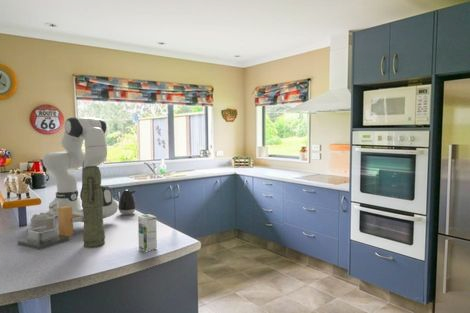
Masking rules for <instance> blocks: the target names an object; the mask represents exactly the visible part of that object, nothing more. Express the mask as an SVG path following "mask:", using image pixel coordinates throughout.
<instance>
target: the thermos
mask: <svg viewBox="0 0 470 313" xmlns="http://www.w3.org/2000/svg"><path fill="white" fill-rule="evenodd" d="M101 176H102V173H101V169H100V167H99V166H86V167H84V169H83V172H82V173H81V186H82V185H83V191H82V194H81V198H82V200H81V209H83V217H84V222H83V232H82V241H83V247H84V248H87V249H94V248H100V247H102V246H104V245H105V244H106V243H105V238H106V231H105V229H104V218H103V209H102V207H103V192H102V189H101V185H102V177H101ZM81 198H80V199H81Z"/></svg>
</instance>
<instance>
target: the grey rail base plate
mask: <svg viewBox="0 0 470 313" xmlns="http://www.w3.org/2000/svg"><path fill="white" fill-rule="evenodd" d="M67 241H70V236H68V237H67V236H63V235H59V227H56V228H55V229H51V230H47V228H46V226H42V227H39V228H35V229H27V230H26V238H22V239H20V240H17V245H19V246H24V247H28V248H32V249H36V250H43V249H45V248H49V247H51V246H55V245H58V244H61V243H64V242H67Z"/></svg>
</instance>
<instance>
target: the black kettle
mask: <svg viewBox="0 0 470 313" xmlns="http://www.w3.org/2000/svg"><path fill="white" fill-rule="evenodd" d="M134 193H136V190H132V191H131V190H130V189H124V190H122V191H121V193H120V197H119V200H118V204H117V205H118V209H117V210H118V211H119V213H120V214H121V215H122V216H130V215H132V214H134V212H135V211H136V208H137V206H136V205H137V204H136V200H135V197H134V195H133V194H134ZM129 214H130V215H129Z"/></svg>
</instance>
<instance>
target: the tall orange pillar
mask: <svg viewBox="0 0 470 313" xmlns="http://www.w3.org/2000/svg"><path fill="white" fill-rule="evenodd" d="M71 219H73V214H72V207H71V206H63V207H58V217H57V221H58V225H57V226H58V235H63V236H67V237H70V236H73V235H74V223H73V222H71Z"/></svg>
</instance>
